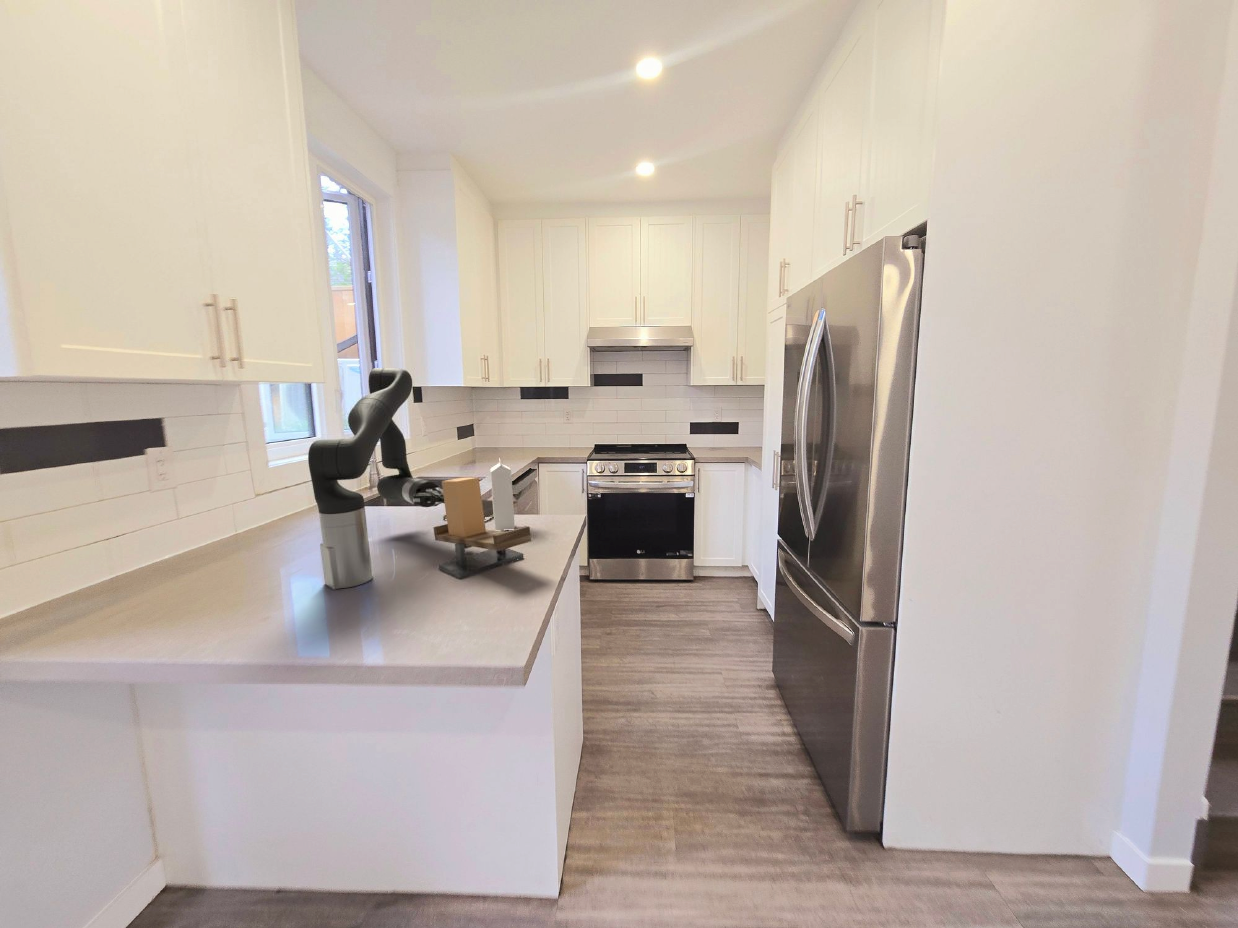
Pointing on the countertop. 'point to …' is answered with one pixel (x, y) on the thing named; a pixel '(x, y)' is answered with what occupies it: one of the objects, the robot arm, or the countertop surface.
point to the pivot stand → (477, 561)
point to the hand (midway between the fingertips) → (451, 500)
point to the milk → (502, 497)
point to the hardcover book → (488, 508)
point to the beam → (486, 538)
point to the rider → (463, 506)
